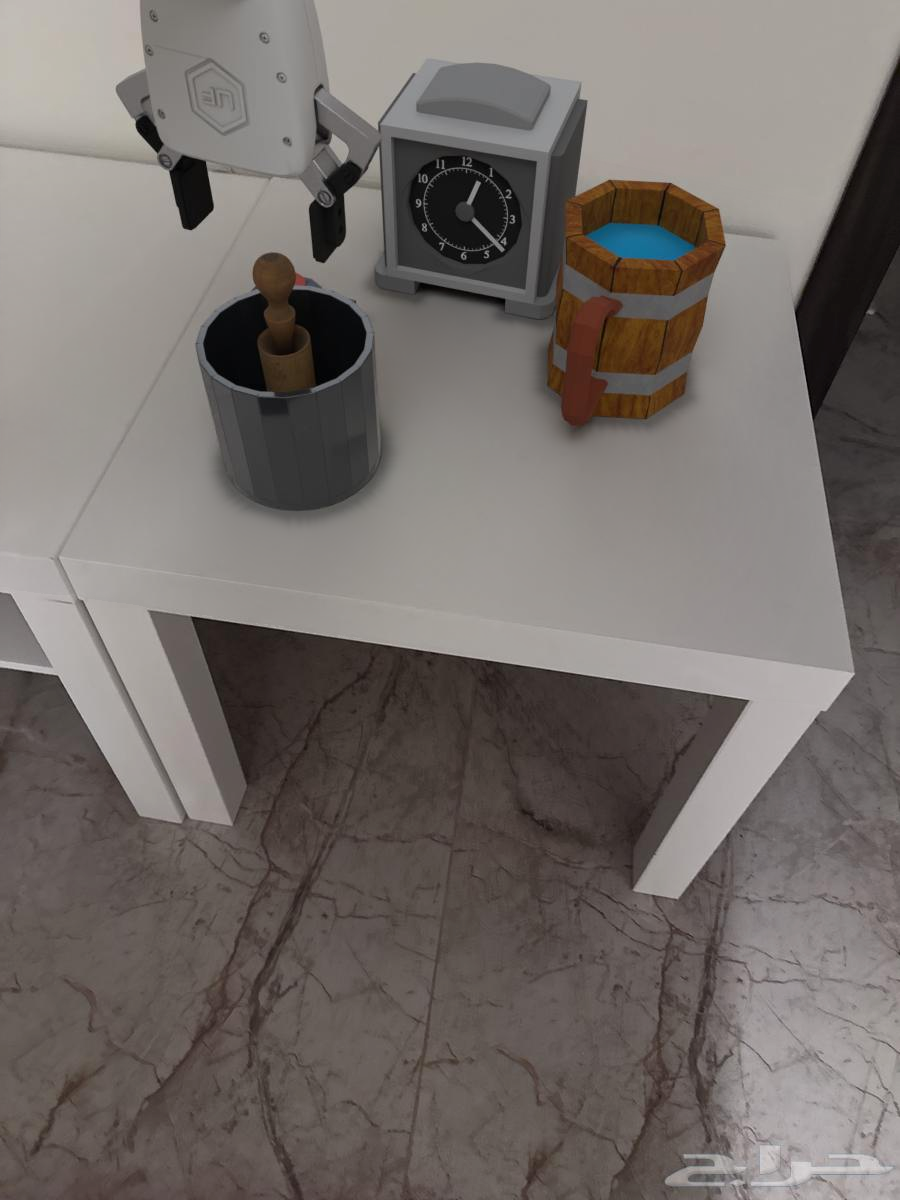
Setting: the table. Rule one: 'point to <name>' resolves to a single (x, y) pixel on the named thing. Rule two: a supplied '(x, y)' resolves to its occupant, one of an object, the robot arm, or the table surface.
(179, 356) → the table surface
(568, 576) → the table surface
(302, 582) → the table surface
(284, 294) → the mortar and pestle
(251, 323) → the grey open cylinder
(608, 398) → the mug
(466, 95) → the alarm clock
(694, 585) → the table surface
